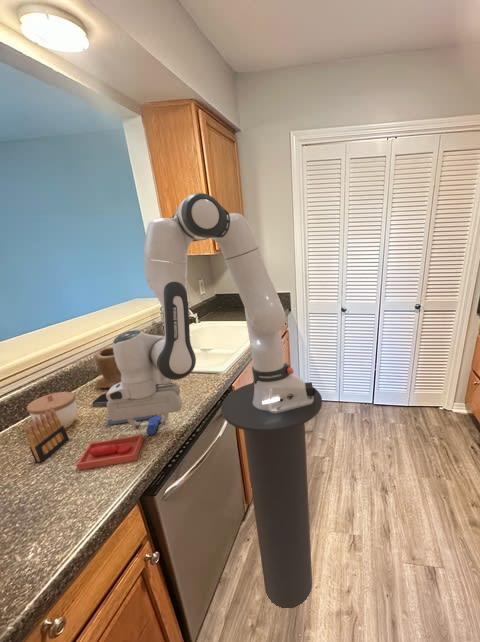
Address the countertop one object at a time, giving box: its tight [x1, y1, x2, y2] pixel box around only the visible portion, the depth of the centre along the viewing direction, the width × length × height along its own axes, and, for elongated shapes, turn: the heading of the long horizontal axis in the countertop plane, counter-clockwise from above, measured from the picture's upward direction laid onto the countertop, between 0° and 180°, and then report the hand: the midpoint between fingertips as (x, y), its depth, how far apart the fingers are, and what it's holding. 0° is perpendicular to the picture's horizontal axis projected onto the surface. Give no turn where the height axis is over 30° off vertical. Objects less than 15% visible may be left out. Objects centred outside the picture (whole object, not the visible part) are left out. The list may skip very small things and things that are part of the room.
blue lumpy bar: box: [145, 415, 163, 436], centre depth 102 cm, size 4×10×3 cm, turn 13°
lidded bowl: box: [26, 391, 79, 429], centre depth 104 cm, size 13×13×11 cm
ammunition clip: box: [23, 407, 70, 463], centre depth 91 cm, size 11×2×12 cm, turn 177°
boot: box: [94, 346, 121, 389], centre depth 133 cm, size 15×12×15 cm
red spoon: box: [90, 444, 132, 456], centre depth 90 cm, size 4×10×3 cm, turn 103°
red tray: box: [75, 434, 144, 471], centre depth 90 cm, size 14×10×2 cm
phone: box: [92, 392, 109, 407], centre depth 120 cm, size 8×1×15 cm
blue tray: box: [106, 415, 157, 426], centre depth 110 cm, size 14×10×2 cm
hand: (151, 426), depth 100 cm, fingers open, 6 cm apart
